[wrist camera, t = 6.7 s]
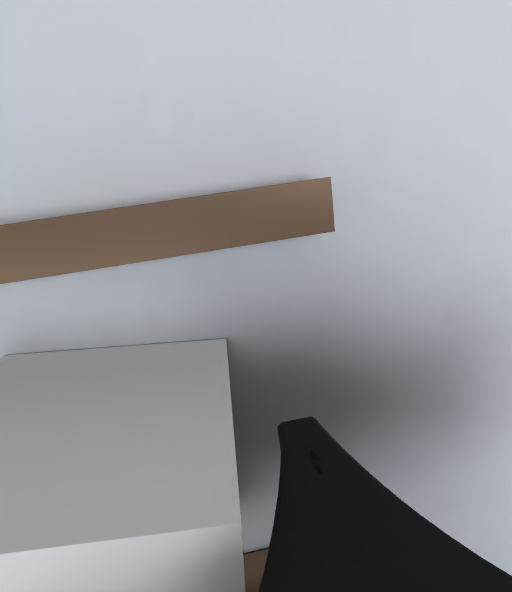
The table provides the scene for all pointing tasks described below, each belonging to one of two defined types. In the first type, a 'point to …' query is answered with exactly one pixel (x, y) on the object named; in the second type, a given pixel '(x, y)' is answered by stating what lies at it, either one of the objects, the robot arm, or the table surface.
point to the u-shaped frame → (168, 243)
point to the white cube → (119, 471)
